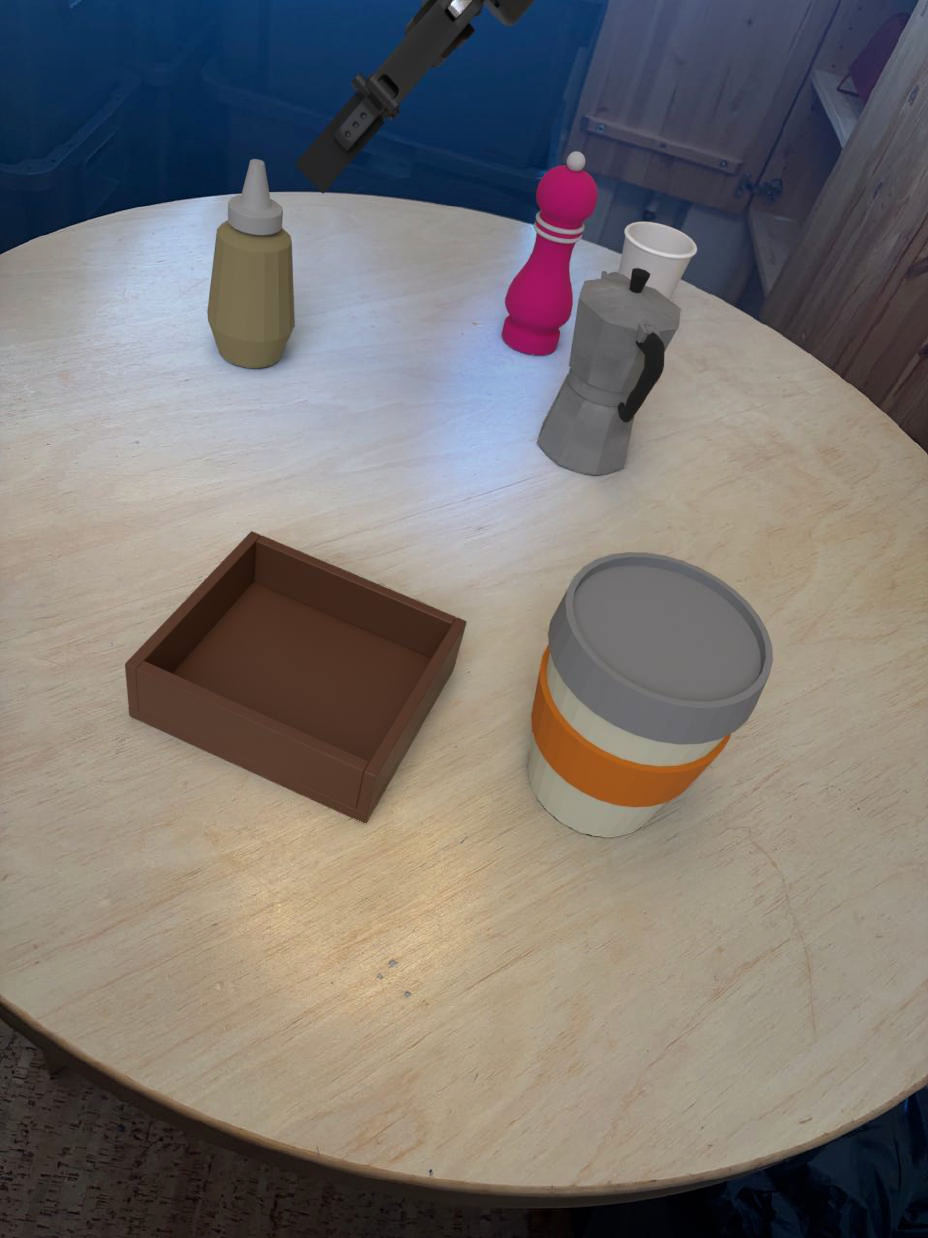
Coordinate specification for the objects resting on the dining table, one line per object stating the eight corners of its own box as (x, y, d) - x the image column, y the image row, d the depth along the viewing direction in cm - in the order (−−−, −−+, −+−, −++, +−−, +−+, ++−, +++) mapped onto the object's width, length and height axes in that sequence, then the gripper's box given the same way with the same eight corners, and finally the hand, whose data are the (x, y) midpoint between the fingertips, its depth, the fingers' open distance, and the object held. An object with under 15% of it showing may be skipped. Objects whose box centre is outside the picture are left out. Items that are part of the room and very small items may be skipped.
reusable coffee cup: (715, 847, 61) (819, 699, 51) (537, 878, 57) (612, 725, 47) (638, 697, 69) (715, 544, 59) (477, 716, 65) (529, 553, 55)
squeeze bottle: (190, 356, 89) (188, 159, 77) (234, 323, 95) (238, 134, 83) (267, 386, 88) (277, 191, 76) (306, 350, 94) (322, 163, 82)
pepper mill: (500, 317, 107) (544, 130, 93) (562, 333, 107) (616, 148, 93) (493, 348, 101) (538, 155, 88) (558, 364, 102) (614, 174, 88)
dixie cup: (585, 309, 112) (610, 226, 105) (629, 296, 117) (656, 216, 110) (638, 344, 109) (667, 260, 102) (681, 329, 113) (712, 248, 107)
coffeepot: (521, 405, 95) (569, 228, 82) (609, 411, 97) (669, 240, 84) (556, 503, 84) (618, 318, 72) (654, 508, 87) (730, 329, 74)
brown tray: (128, 716, 60) (124, 663, 56) (249, 581, 70) (251, 530, 67) (365, 824, 58) (375, 777, 54) (453, 669, 68) (467, 620, 64)
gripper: (576, -32, 58) (344, 229, 65) (527, -2, 80) (357, 192, 87) (492, -144, 56) (258, 141, 62) (465, -81, 77) (294, 126, 84)
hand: (315, 171), depth 74 cm, fingers open, 13 cm apart
